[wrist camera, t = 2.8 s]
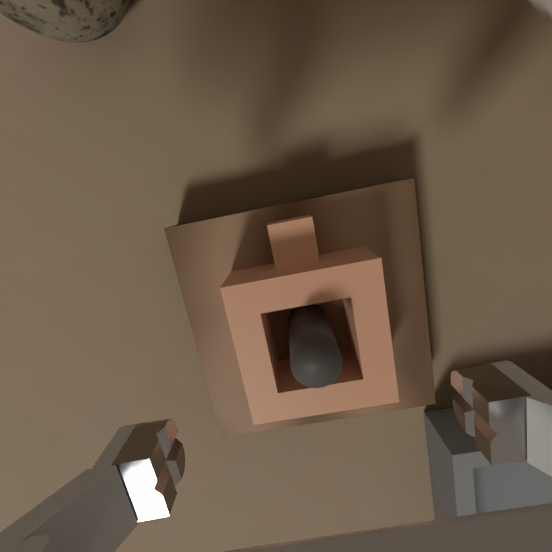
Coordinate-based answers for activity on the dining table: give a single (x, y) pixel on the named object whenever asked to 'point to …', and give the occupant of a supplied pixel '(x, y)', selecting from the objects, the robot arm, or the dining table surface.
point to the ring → (300, 292)
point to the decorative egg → (67, 17)
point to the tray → (476, 473)
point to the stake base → (333, 234)
